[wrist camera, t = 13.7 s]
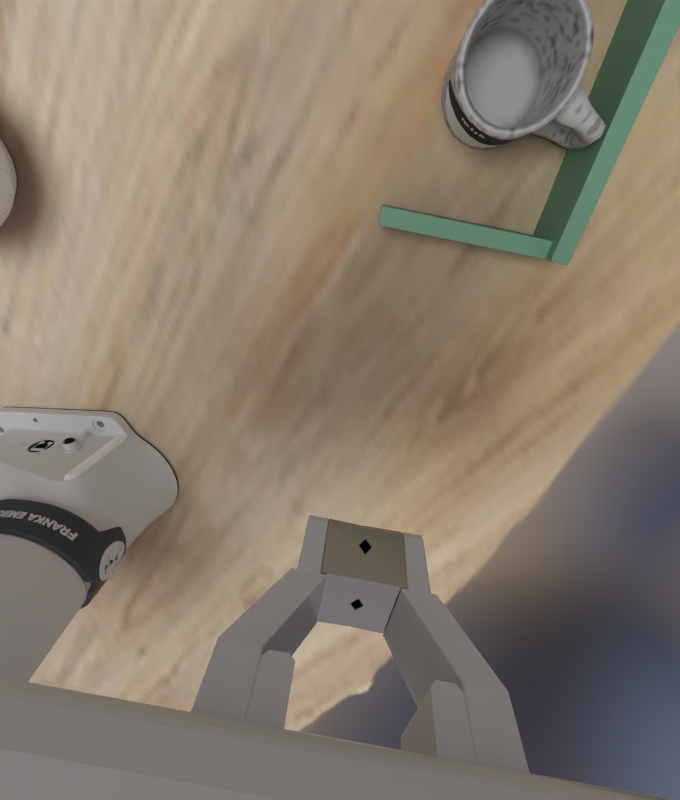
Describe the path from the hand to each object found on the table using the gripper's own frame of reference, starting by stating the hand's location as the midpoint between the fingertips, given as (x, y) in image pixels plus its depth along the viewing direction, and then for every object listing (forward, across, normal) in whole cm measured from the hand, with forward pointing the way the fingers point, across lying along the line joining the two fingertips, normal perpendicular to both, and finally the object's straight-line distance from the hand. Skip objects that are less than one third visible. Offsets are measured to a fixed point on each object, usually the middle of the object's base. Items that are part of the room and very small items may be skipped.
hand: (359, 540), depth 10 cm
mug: (+26, +7, +15) cm, 31 cm away
